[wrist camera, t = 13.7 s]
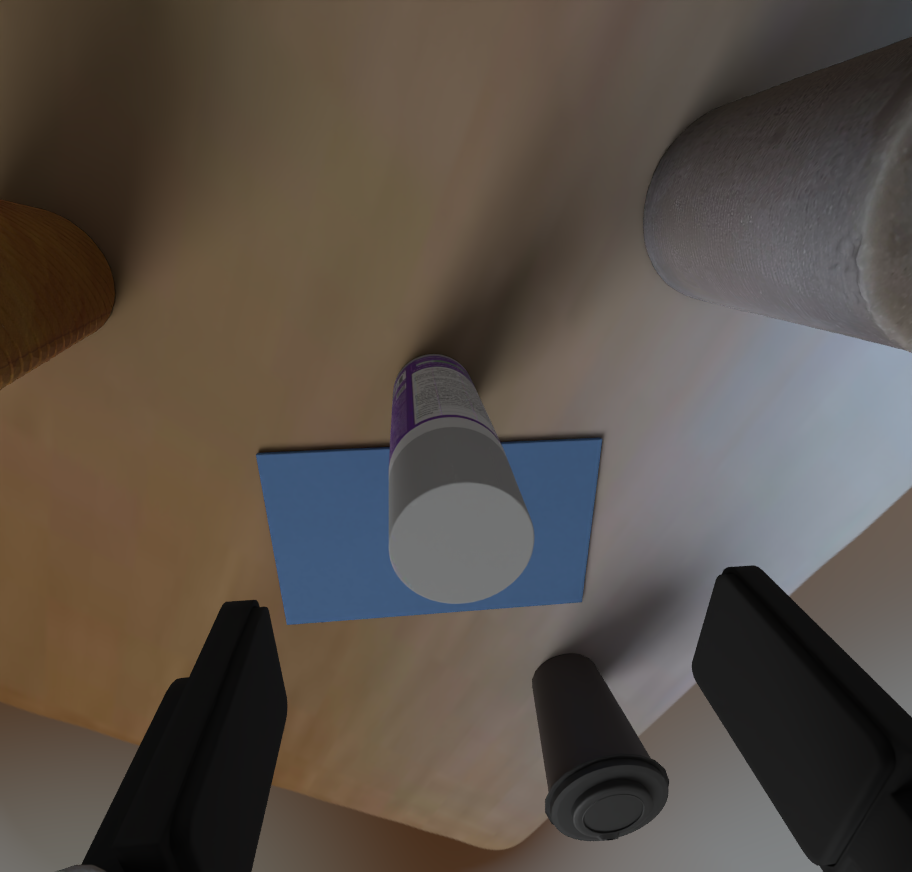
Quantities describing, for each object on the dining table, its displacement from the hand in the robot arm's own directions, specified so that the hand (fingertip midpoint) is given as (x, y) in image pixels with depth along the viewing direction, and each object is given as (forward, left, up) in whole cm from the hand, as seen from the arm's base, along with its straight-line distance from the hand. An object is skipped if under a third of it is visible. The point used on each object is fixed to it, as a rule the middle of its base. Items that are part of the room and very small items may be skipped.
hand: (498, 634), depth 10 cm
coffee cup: (+25, +10, -20) cm, 34 cm away
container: (+1, 0, -20) cm, 20 cm away
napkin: (+11, 0, -20) cm, 22 cm away
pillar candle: (-9, +16, -20) cm, 27 cm away
